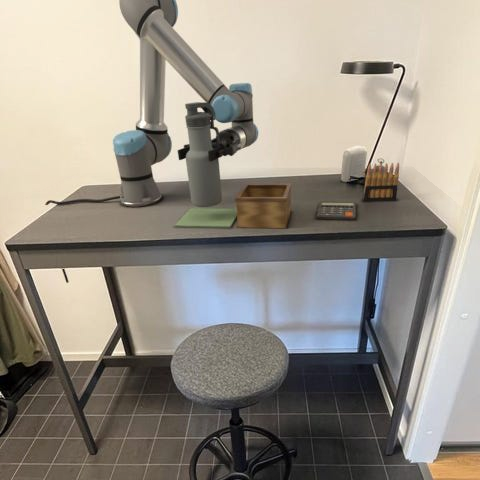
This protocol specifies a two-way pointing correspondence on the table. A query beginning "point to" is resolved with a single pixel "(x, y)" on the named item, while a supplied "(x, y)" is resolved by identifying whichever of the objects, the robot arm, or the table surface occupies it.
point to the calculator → (336, 210)
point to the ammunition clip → (381, 184)
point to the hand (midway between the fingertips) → (194, 155)
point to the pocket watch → (378, 169)
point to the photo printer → (353, 162)
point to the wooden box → (264, 205)
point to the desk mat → (208, 218)
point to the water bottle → (202, 156)
